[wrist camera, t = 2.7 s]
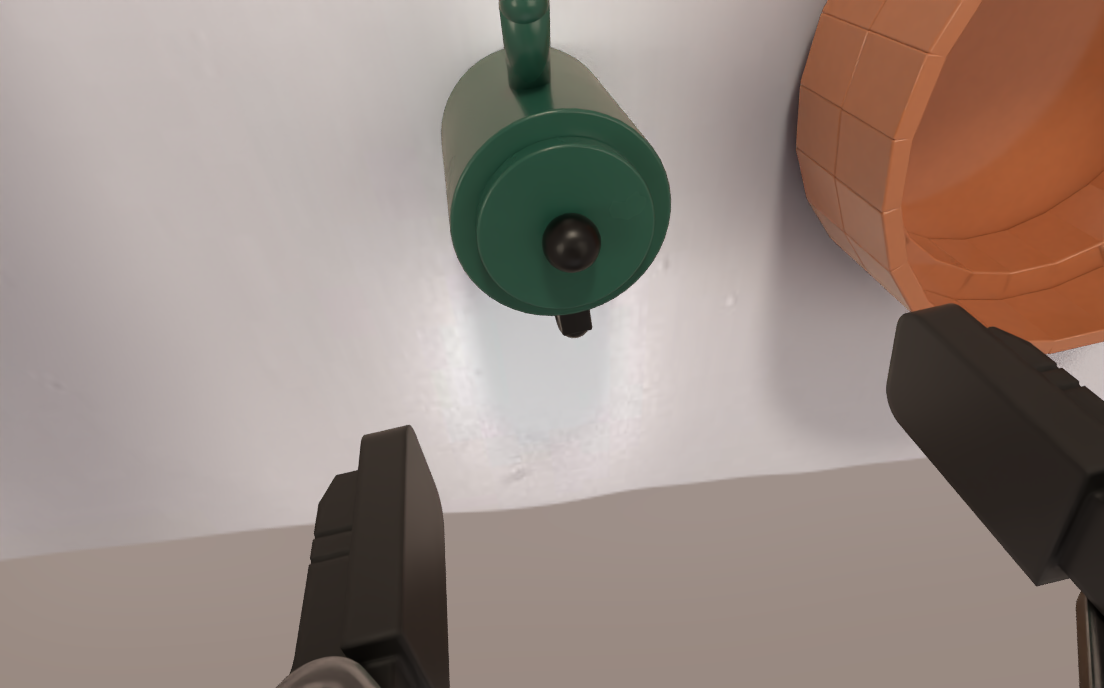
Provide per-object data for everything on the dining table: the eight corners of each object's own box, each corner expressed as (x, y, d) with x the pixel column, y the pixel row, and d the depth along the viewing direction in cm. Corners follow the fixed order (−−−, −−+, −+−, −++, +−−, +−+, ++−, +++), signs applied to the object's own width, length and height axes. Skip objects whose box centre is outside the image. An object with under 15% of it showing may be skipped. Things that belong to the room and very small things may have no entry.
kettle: (623, 239, 25) (699, 379, 18) (474, 271, 25) (496, 425, 18) (592, -75, 19) (688, -36, 12) (395, -36, 19) (385, 25, 12)
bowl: (777, 306, 28) (853, 400, 23) (805, -188, 18) (944, -203, 14) (1148, 223, 29) (1295, 297, 24) (1363, -296, 19) (1684, -347, 14)
